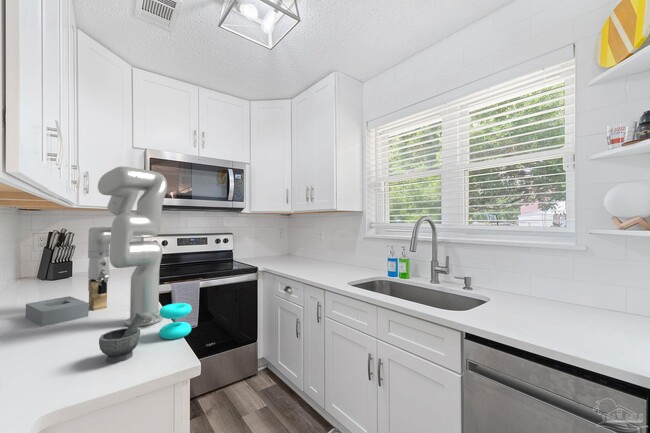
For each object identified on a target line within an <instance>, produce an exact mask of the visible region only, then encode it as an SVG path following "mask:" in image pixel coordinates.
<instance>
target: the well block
mask: <svg viewBox="0 0 650 433" xmlns="http://www.w3.org/2000/svg"><path fill="white" fill-rule="evenodd" d="M86 317H87V318H88V317H89V302H87V301H84V300H81V299H79V298H75V297H73V296H70V295H69V296H63V297H58V298H53V299H47V300H45V299H44V300H40V301H35V302H28V303H25V318H26V319H28V320H30V321H31V322H33V323H35V324H36V325H39V326H40V327H43V328H44V327H48V326H51V325H52V326H53V325H56V324H60V323H65V322H69V321H74V320H78V319H82V318H86Z"/></svg>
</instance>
